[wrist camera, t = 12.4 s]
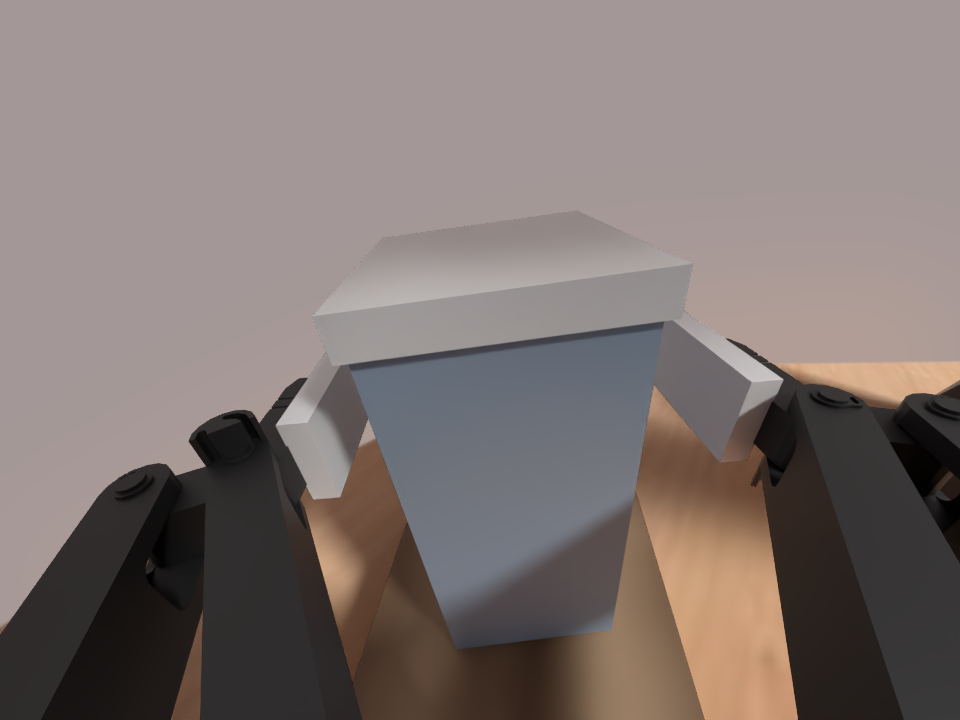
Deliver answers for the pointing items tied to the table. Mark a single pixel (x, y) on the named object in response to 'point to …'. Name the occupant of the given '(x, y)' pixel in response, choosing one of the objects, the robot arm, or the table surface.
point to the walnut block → (527, 656)
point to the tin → (511, 408)
